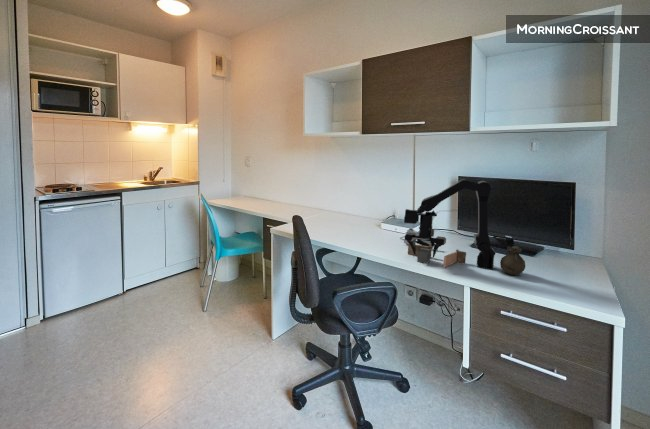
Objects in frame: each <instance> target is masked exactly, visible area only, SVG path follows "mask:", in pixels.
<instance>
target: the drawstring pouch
mask: <svg viewBox="0 0 650 429" xmlns="http://www.w3.org/2000/svg"><path fill="white" fill-rule="evenodd" d="M506 249H507V251H508V253H507V254H506V255H504V256H503V257H501V259H500V263H499V265H500V268H501V270H502V271H503V272H504V273H505V274H507V275H509V276H519V275H520V274H523V272H524V271H525V270H526V260H525V259H524V258H523V257H522V256H521V254H520V253H522V251H523V248H521V247H519V246H517V245H515V246H509V245H506Z"/></svg>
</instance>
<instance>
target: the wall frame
mask: <svg viewBox="0 0 650 429" xmlns="http://www.w3.org/2000/svg"><path fill="white" fill-rule="evenodd" d="M407 246H408V247H407V255H410V256H411V255H412V256H417V257H418V250H420V249H421V248H424V249H430V259H431V258H432V250H433V249H432V246H430V245H429V246H422V245H420V244H416V253H415V254H414V253H413V250H412V248H411V246H410V244H408V245H407ZM455 252H457V262H456V263H459V264H466V258H467V252H466V251H461V250H459V249H455Z"/></svg>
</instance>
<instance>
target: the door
mask: <svg viewBox="0 0 650 429" xmlns="http://www.w3.org/2000/svg"><path fill="white" fill-rule="evenodd" d="M455 263H458V262H457V252H456V251H453V252H451V253H448V254H446V255H444V257H443V267H444V268H446V267H449V266H450V265H451V266H452V265H454V264H455Z"/></svg>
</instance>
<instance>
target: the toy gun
mask: <svg viewBox="0 0 650 429" xmlns="http://www.w3.org/2000/svg"><path fill="white" fill-rule="evenodd" d="M407 233H416V235H417V236H419V231H417V230H414V229H413V228H408V229H407V230H406V232H405V235H406V234H407ZM423 239H424V238H423ZM407 241H408V240H405V238H404V239H403V243H404V244H405V245H406V246H408V244H409V242H407ZM435 244H436V243H435V242H432V241H425V240H418V239H416V245H422V246H429V245H430V246H432V250H434V245H435Z"/></svg>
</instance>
